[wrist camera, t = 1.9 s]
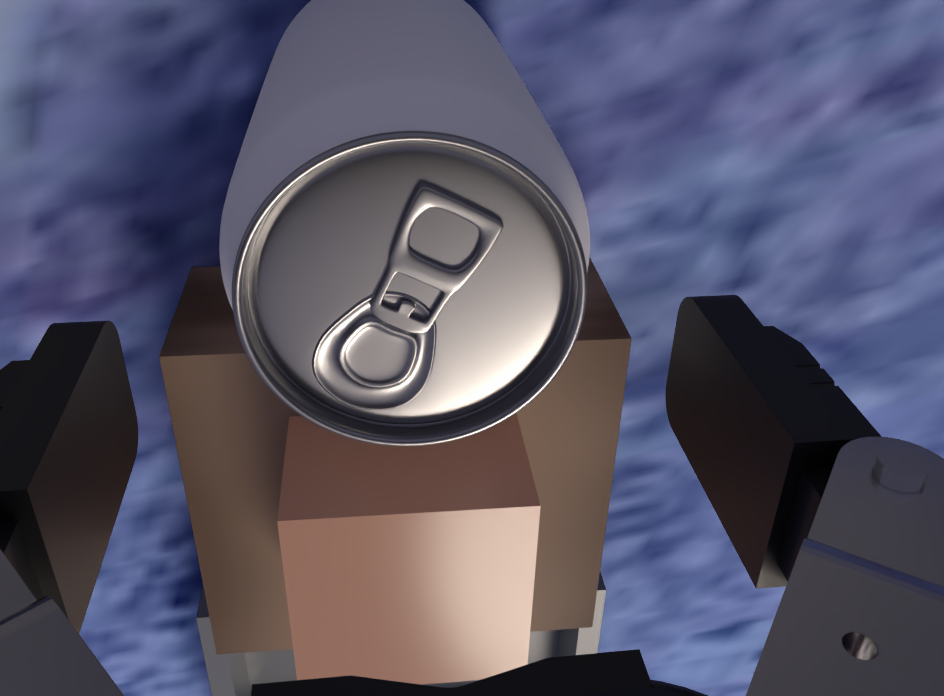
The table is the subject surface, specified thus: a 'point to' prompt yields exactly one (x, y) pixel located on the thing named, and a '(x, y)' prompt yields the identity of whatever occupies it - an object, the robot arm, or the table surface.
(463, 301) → the can
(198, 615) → the box
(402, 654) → the small tan cube
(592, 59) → the table surface
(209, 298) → the brown wooden block
